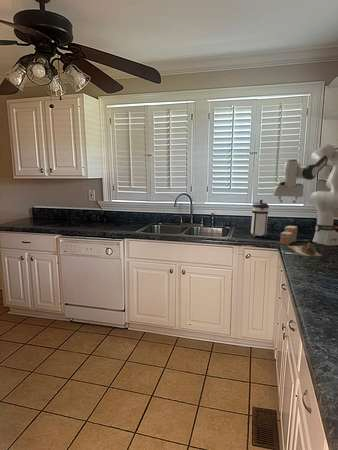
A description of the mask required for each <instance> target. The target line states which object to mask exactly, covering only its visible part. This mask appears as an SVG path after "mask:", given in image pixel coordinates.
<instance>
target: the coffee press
mask: <svg viewBox="0 0 338 450" xmlns="http://www.w3.org/2000/svg"><path fill="white" fill-rule="evenodd" d="M269 208H270V206H269V204H268V203H267V202H263V199H259V202H254V203H253V205H252V210H251V212H252V214H251V226H250V227H251V228H250V232H249V233H250V235H251V237H252V238H255V237H256V236H259V237H263V238H264V237H265V238H267V226H268V216H269ZM265 238H264V239H265Z"/></svg>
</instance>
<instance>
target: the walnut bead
mask: <svg viewBox="0 0 338 450" xmlns="http://www.w3.org/2000/svg"><path fill="white" fill-rule="evenodd" d="M301 246H302V252H303V253H305V254H315V251H317V250H316V247H314V246H312V245H311V248H307V245H301Z"/></svg>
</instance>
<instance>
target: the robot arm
mask: <svg viewBox="0 0 338 450" xmlns="http://www.w3.org/2000/svg"><path fill="white" fill-rule="evenodd" d="M310 159H311V162H312V163H313V164H301V163H299V162H298V159H288V160H286V161H285V163H284V168H283V178H282V180H280V181H276V182H275V185H274V187H273V192H272V193H273V196H274V197H277V198H278V200H279V203H283V200H282V199H281V198H282V197H294V199H293V200H292V204H296V203H297V200H298V198H300V197H301V198H302V197H303V196H304V187H305V185H304V184H303V183H297V179H302V180H307V181H308V180H309V181H311V180H314V179H315V178H316V177H317V176H318V174H319V172H320V171H322V170H323V168H324V167H331V166H332V169H331V171H330V173H329V175H328V177H327V180H326V182H325V185H326V187H327V188H328V189H329V191H325V190H318V191H313V192H312V193H311V194H310V197H309V200H310V203H311V204H312V205H313V206H314V208H315V209H316V213H317V217H316V224H315V230H314V231H315V232H314V235H313V239H312V243H316V244H319V245H325V246H338V231H336V230H337V229H338V226H337V225H334V219H335V215H334V213H333V212H332V211H330V210H329V208H338V149H335V147H334V146H333V145H332V144H329V143H328V144H324V145H322V146H320V147H318V148H317V149H315V150H314V151H313V152H312V153H311V157H310Z"/></svg>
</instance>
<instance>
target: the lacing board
mask: <svg viewBox="0 0 338 450" xmlns="http://www.w3.org/2000/svg"><path fill="white" fill-rule="evenodd" d="M302 246H303V245H287V248H289V249H290V250H293V251H294V252H295V253H296V254H298V255H299V258H305V259H324V255H323V254H321V253H319V252H317V250H315V254H305V253H303V252H302ZM306 246H307V248H311V246H312V243H311V242H307V245H306Z"/></svg>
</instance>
